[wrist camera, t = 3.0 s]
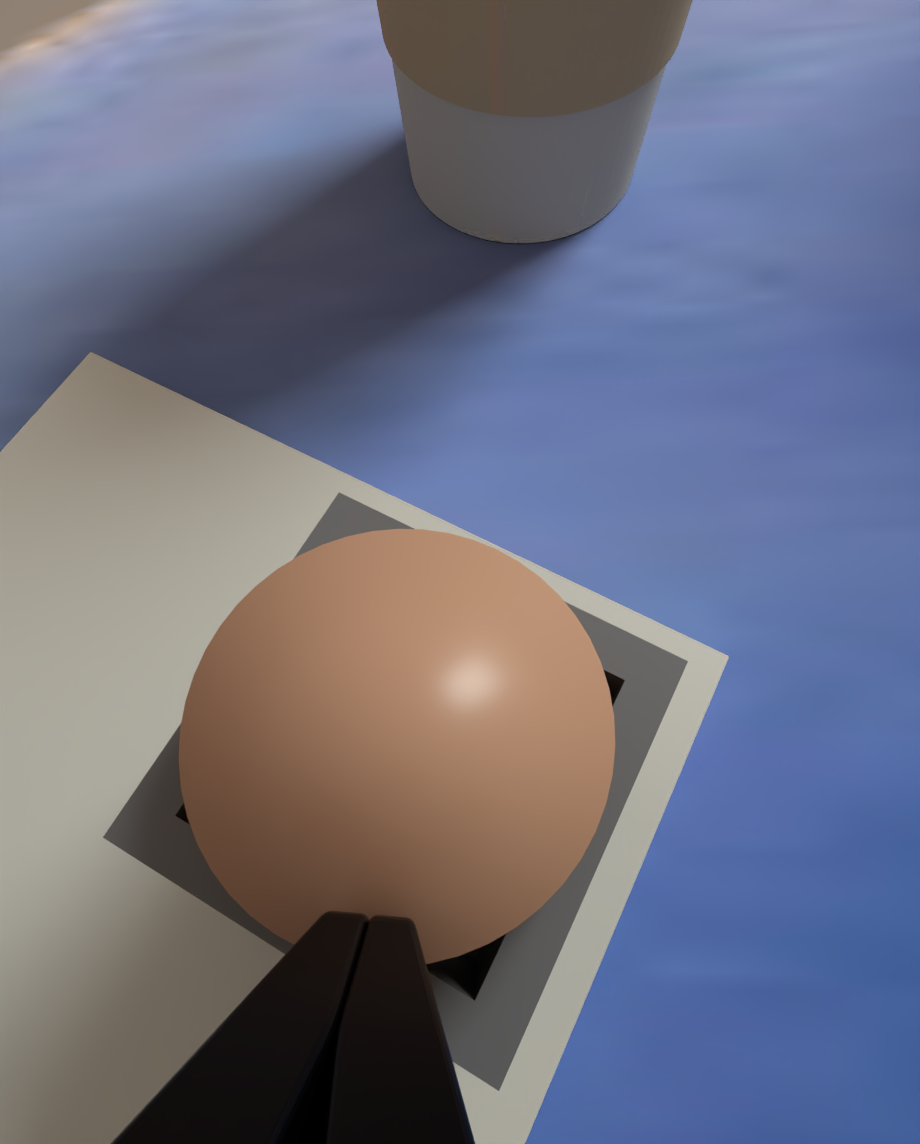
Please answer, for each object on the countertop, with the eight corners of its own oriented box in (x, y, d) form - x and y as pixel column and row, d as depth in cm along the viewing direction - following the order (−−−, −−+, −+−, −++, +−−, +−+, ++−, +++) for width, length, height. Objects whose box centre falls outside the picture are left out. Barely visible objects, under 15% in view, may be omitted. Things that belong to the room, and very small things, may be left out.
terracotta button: (481, 988, 13) (489, 1070, 7) (262, 853, 14) (87, 816, 8) (592, 751, 15) (682, 637, 8) (388, 643, 16) (329, 468, 9)
